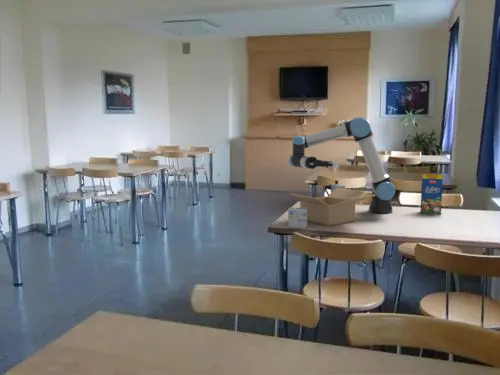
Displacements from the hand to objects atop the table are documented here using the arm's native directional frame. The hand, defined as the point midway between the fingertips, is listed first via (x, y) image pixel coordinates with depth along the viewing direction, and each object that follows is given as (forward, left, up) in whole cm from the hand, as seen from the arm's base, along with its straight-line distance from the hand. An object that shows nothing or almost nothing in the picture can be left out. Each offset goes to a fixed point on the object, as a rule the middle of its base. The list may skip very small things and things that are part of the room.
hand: (337, 165), depth 285 cm
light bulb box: (+24, +10, -34) cm, 43 cm away
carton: (+4, -6, -34) cm, 35 cm away
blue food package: (-67, -26, -34) cm, 79 cm away
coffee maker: (-10, -53, -34) cm, 64 cm away
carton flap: (-7, +10, -19) cm, 22 cm away
